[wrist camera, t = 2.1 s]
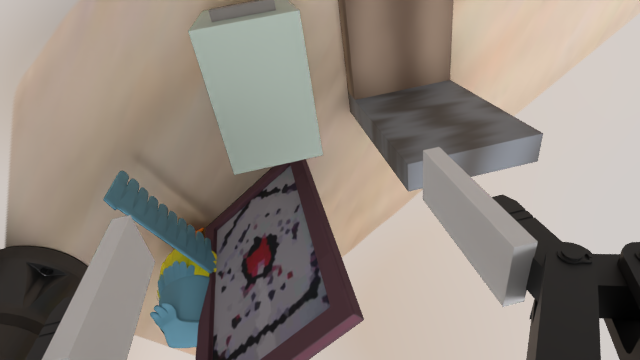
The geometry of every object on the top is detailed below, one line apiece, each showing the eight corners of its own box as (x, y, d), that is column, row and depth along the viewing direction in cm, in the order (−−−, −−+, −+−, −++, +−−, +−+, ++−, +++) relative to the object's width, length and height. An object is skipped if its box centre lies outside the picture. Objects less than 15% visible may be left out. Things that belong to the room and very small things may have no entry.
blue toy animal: (82, 196, 43) (16, 295, 31) (131, 150, 42) (83, 235, 29) (249, 302, 57) (252, 400, 45) (291, 271, 56) (307, 364, 43)
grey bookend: (350, 111, 44) (408, 191, 29) (337, -3, 37) (404, 23, 22) (437, 93, 45) (537, 161, 30) (440, -22, 38) (571, -10, 23)
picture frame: (296, 145, 45) (346, 307, 24) (345, 190, 50) (422, 359, 29) (205, 227, 49) (179, 431, 28) (259, 262, 54) (272, 459, 32)
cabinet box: (235, 123, 42) (234, 174, 32) (200, 2, 36) (184, 19, 25) (303, 109, 43) (322, 155, 33) (281, -13, 36) (297, -3, 26)
